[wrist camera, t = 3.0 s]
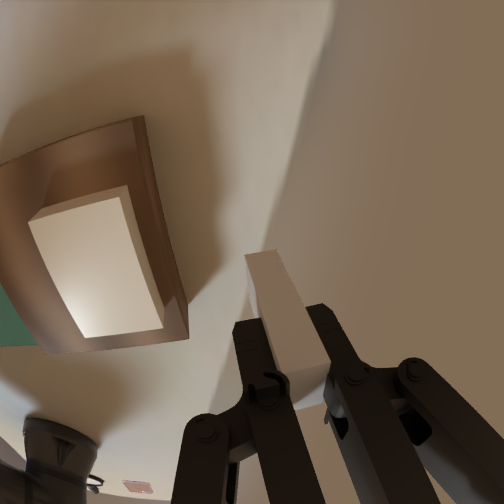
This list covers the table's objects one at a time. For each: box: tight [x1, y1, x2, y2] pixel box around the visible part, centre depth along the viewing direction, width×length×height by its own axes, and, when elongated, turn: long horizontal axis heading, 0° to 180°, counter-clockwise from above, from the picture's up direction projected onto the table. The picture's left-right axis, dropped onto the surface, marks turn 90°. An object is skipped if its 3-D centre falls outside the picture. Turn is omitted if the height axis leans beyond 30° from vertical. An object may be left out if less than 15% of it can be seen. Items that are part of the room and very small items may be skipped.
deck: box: [0, 115, 189, 354], centre depth 18 cm, size 14×16×4 cm
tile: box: [28, 185, 164, 338], centre depth 16 cm, size 6×9×2 cm, turn 5°
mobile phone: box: [122, 480, 153, 494], centre depth 55 cm, size 8×1×15 cm
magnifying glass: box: [87, 475, 103, 494], centre depth 52 cm, size 12×24×2 cm, turn 167°
